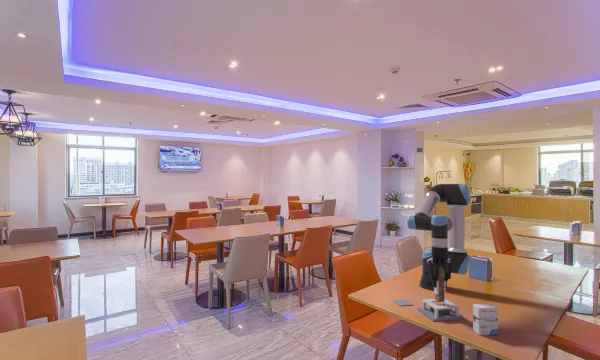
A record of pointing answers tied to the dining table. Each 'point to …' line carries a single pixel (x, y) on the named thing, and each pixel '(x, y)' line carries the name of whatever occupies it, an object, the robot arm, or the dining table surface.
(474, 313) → the ink box
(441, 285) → the walnut rod
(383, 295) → the dining table surface
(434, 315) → the white open frame stand
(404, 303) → the mat
